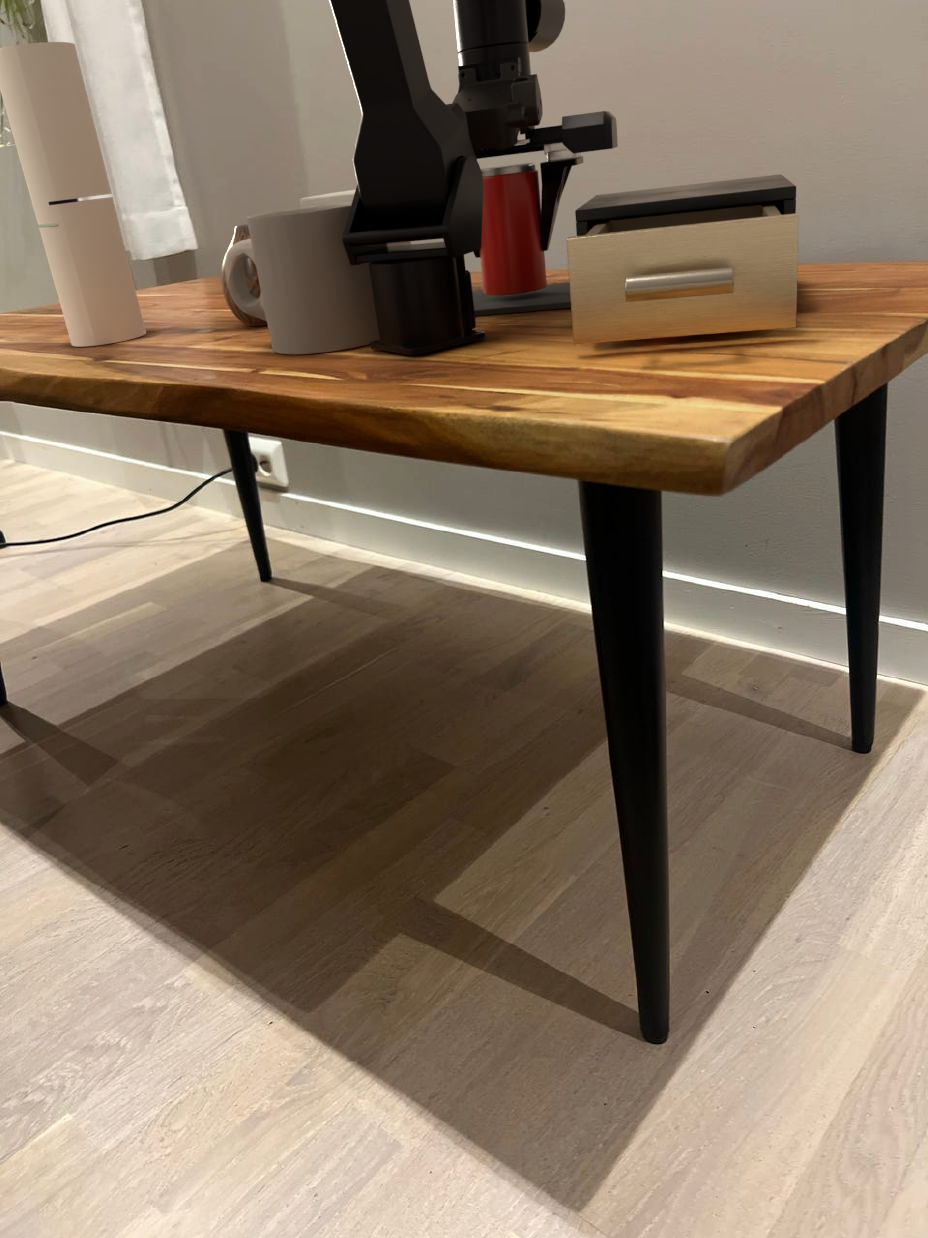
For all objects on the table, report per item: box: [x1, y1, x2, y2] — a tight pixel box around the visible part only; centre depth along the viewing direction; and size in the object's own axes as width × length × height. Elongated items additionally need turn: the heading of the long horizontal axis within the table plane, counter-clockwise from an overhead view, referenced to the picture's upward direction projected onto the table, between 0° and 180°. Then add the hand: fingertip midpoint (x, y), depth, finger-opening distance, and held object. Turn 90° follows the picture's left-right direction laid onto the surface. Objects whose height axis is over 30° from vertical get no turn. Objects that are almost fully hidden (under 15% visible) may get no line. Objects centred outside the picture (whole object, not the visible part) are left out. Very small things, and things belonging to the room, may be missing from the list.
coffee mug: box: [224, 202, 380, 355], centre depth 79 cm, size 13×10×10 cm
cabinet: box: [574, 174, 797, 236], centre depth 75 cm, size 15×15×8 cm
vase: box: [220, 223, 268, 327], centre depth 93 cm, size 7×7×9 cm
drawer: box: [566, 202, 800, 345], centre depth 64 cm, size 18×13×6 cm
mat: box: [472, 281, 571, 317], centre depth 88 cm, size 12×12×1 cm
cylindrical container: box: [0, 41, 147, 348], centre depth 92 cm, size 7×7×25 cm
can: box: [479, 162, 548, 295], centre depth 85 cm, size 6×6×10 cm
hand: (511, 253), depth 86 cm, fingers closed on can, 5 cm apart
